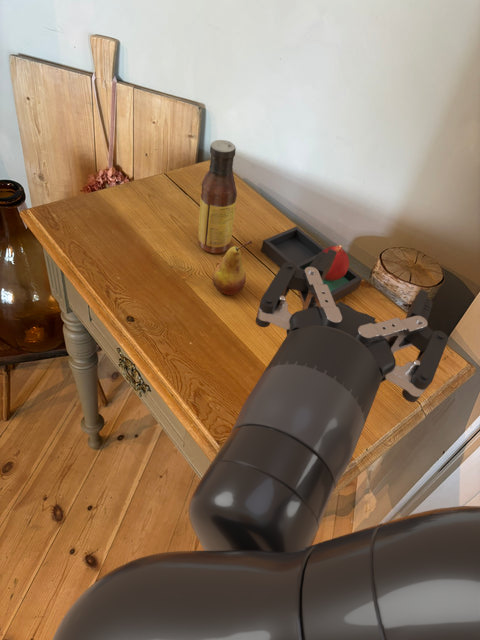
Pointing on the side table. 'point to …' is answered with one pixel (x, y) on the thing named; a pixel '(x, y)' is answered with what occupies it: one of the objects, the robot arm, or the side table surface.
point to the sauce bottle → (218, 199)
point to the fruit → (230, 272)
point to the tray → (306, 258)
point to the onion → (337, 264)
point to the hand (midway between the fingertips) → (374, 276)
